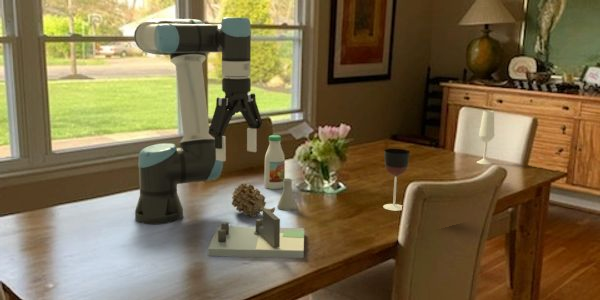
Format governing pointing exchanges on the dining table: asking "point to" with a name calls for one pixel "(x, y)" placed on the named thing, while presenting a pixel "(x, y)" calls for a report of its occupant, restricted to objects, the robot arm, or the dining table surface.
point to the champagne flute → (486, 132)
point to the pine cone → (249, 200)
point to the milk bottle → (274, 164)
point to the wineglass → (396, 169)
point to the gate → (269, 228)
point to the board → (255, 243)
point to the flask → (287, 196)
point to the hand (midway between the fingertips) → (236, 155)
